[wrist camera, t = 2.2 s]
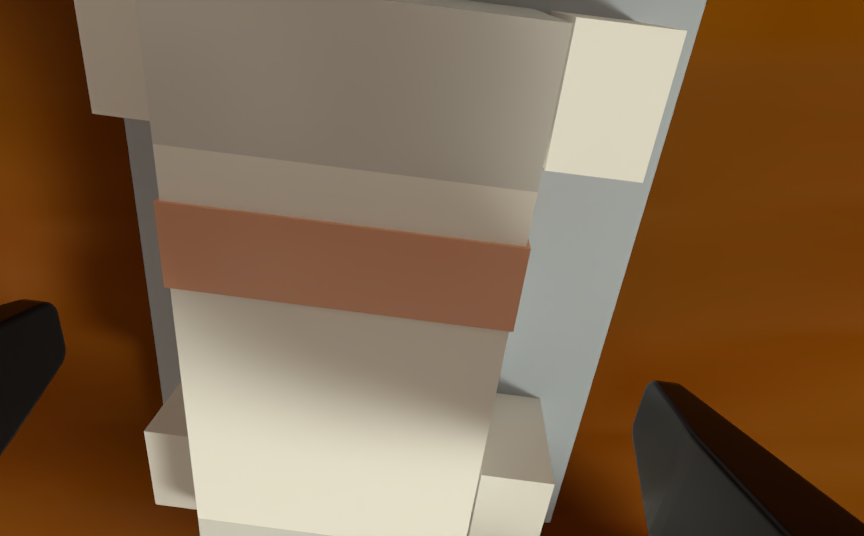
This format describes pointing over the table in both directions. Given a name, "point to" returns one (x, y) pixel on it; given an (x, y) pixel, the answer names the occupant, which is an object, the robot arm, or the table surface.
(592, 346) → the holder
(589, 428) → the table surface
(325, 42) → the fuse
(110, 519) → the table surface
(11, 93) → the table surface
